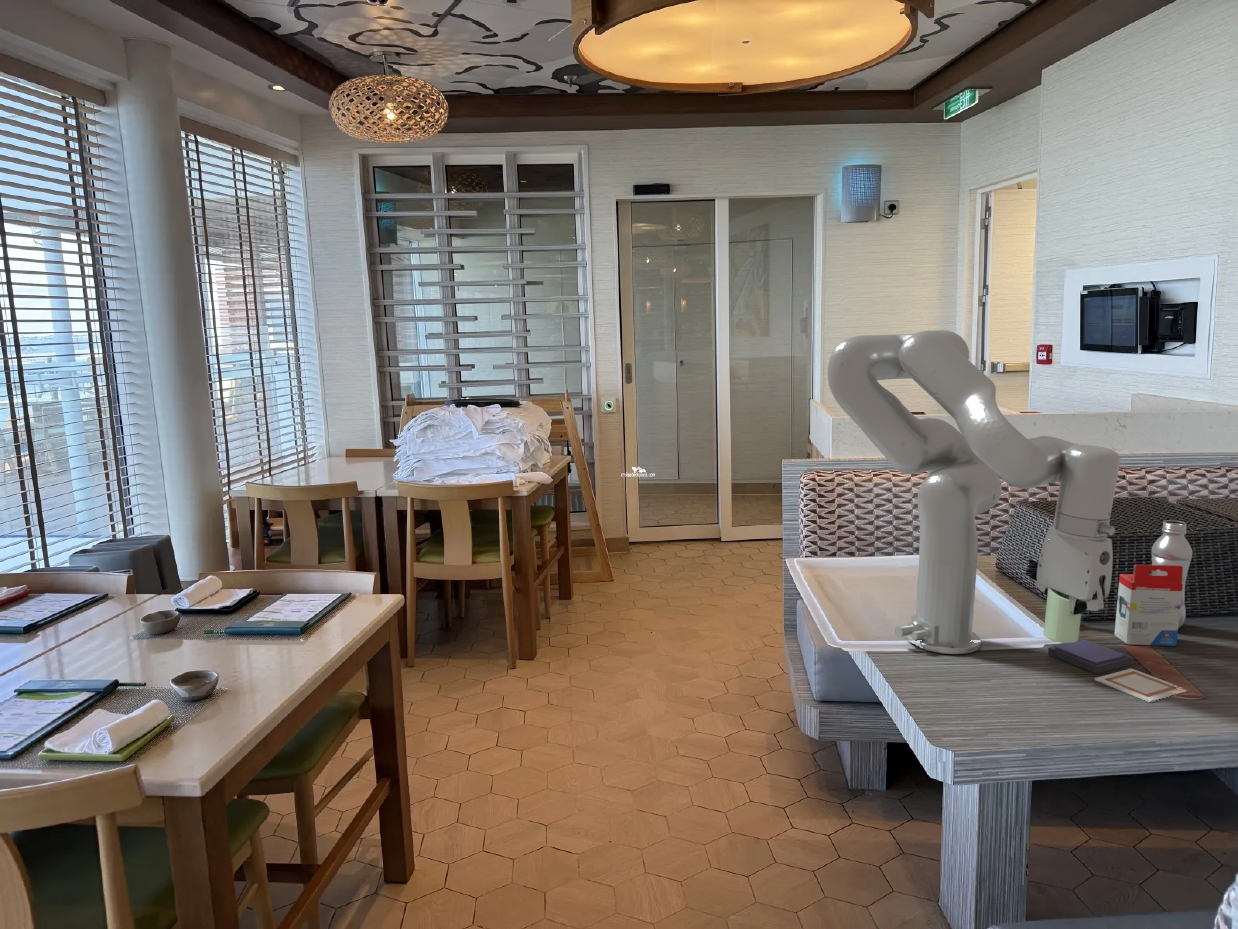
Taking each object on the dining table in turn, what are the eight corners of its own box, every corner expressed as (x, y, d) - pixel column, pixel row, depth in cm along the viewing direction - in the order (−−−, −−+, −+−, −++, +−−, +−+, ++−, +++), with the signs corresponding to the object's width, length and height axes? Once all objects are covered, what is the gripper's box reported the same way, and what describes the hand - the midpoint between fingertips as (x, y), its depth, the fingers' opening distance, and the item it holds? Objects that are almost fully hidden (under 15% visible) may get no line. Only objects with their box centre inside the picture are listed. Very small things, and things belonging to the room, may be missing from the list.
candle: (1084, 640, 136) (1090, 590, 134) (1065, 645, 133) (1071, 595, 132) (1055, 630, 140) (1060, 582, 139) (1036, 635, 137) (1041, 586, 136)
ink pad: (1096, 673, 137) (1097, 665, 137) (1047, 654, 145) (1048, 645, 145) (1132, 664, 141) (1133, 655, 141) (1083, 645, 149) (1084, 637, 149)
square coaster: (1149, 702, 127) (1150, 700, 127) (1094, 680, 135) (1094, 677, 135) (1187, 691, 131) (1187, 689, 131) (1131, 670, 139) (1131, 667, 139)
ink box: (1162, 636, 153) (1170, 558, 151) (1177, 646, 149) (1186, 566, 146) (1112, 635, 154) (1120, 557, 152) (1126, 645, 149) (1134, 565, 147)
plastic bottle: (1183, 624, 159) (1195, 521, 156) (1184, 635, 154) (1196, 528, 150) (1143, 618, 163) (1154, 516, 159) (1143, 629, 157) (1154, 524, 154)
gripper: (1143, 537, 127) (1122, 650, 131) (1054, 509, 141) (1037, 613, 145) (1110, 541, 124) (1089, 657, 128) (1022, 513, 138) (1005, 619, 142)
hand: (1061, 633), depth 136 cm, fingers closed on candle, 1 cm apart
